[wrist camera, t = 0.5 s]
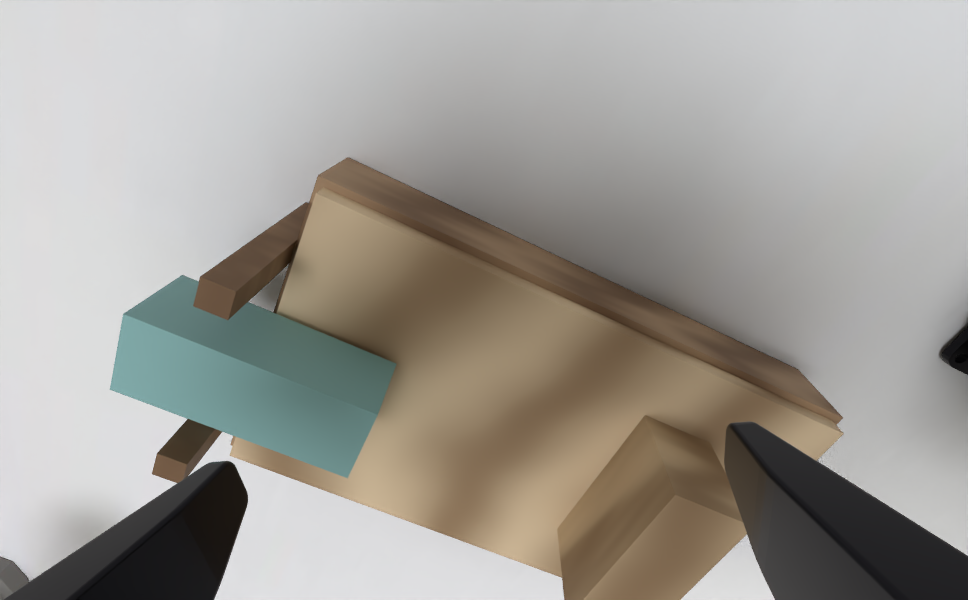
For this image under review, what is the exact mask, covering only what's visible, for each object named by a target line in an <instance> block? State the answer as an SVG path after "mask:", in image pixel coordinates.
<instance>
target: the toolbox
mask: <svg viewBox="0 0 968 600" xmlns="http://www.w3.org/2000/svg"><path fill="white" fill-rule="evenodd" d="M322 188H326V189H328V190H331V191H333V192H335V193H337V194H339V195H342V196H344V197H346V198H348V199H350V200H352V201H355V202H357V203H359V204H361V205H363V206H366V207H368V208H370V209H372V210H374V211H376V212H379V213H381V214H383V215H385V216H387V217H389V218H392V219H394V220H396V221H398V222H400V223H403V224H405V225H407V226H409V227H411V228H413V229H416V230H418V231H420V232H422V233H424V234H427V235H429V236H431V237H433V238H435V239H437V240H440V241H442V242H444V243H446V244H448V245H451V246H453V247H455V248H457V249H459V250H461V251H464V252H466V253H468V254H470V255H472V256H475V257H477V258H479V259H481V260H483V261H485V262H488V263H490V264H492V265H494V266H496V267H498V268H501V269H503V270H505V271H507V272H509V273H512V274H514V275H516V276H518V277H520V278H522V279H525V280H527V281H529V282H531V283H533V284H536V285H538V286H540V287H542V288H544V289H546V290H549V291H551V292H553V293H555V294H557V295H560V296H562V297H564V298H566V299H568V300H570V301H573V302H575V303H577V304H579V305H581V306H583V307H586V308H588V309H590V310H592V311H594V312H597V313H599V314H601V315H603V316H605V317H607V318H610V319H612V320H614V321H616V322H618V323H621V324H623V325H625V326H627V327H629V328H631V329H634V330H636V331H638V332H640V333H642V334H645V335H647V336H649V337H651V338H653V339H655V340H658V341H660V342H662V343H664V344H666V345H668V346H671V347H673V348H675V349H677V350H679V351H682V352H684V353H686V354H688V355H690V356H692V357H695V358H697V359H699V360H701V361H703V362H706V363H708V364H710V365H712V366H714V367H716V368H719V369H721V370H723V371H725V372H727V373H730V374H732V375H734V376H736V377H738V378H740V379H743V380H745V381H747V382H749V383H751V384H754V385H756V386H758V387H760V388H762V389H764V390H767V391H769V392H771V393H773V394H775V395H777V396H780V397H782V398H784V399H786V400H788V401H791V402H793V403H795V404H797V405H799V406H801V407H804V408H806V409H808V410H810V411H812V412H815V413H817V414H819V415H821V416H823V417H825V418H828V419H830V420H832V421H833V422H834V423H835V425H837V424H838V423H839V422H840V420H841V419H842V418H843V417H842V416H841V415H840V414H839V413H838V412H837V411H836V410H835V409H834V407H833V406H832V405H831V404H830V403H829V402H828V401H827V400H826V399H825V398H824V397H823V396H822V395H821V394H820V392H819V391H818V390H817V389H816V388H815V387H814V386H813V385H812V384H811V383H810V382H809V381H808V380H807V379H806V377H805V376H804V375H803V374H802V373H801V372H800V371H799V370H798V369H796V368H794V367H792V366H790V365H787V364H785V363H783V362H781V361H779V360H777V359H775V358H773V357H770V356H768V355H766V354H764V353H762V352H760V351H758V350H756V349H753V348H751V347H749V346H747V345H745V344H743V343H741V342H739V341H736V340H734V339H732V338H730V337H728V336H726V335H724V334H722V333H720V332H717V331H715V330H713V329H711V328H709V327H707V326H705V325H703V324H700V323H698V322H696V321H694V320H692V319H690V318H688V317H686V316H683V315H681V314H679V313H677V312H675V311H673V310H671V309H669V308H666V307H664V306H662V305H660V304H658V303H656V302H654V301H652V300H649V299H647V298H645V297H643V296H641V295H639V294H637V293H635V292H633V291H630V290H628V289H626V288H624V287H622V286H620V285H618V284H616V283H613V282H611V281H609V280H607V279H605V278H603V277H601V276H599V275H596V274H594V273H592V272H590V271H588V270H586V269H584V268H582V267H579V266H577V265H575V264H573V263H571V262H569V261H567V260H565V259H562V258H560V257H558V256H556V255H554V254H552V253H550V252H548V251H546V250H543V249H541V248H539V247H537V246H535V245H533V244H531V243H529V242H526V241H524V240H522V239H520V238H518V237H516V236H514V235H512V234H509V233H507V232H505V231H503V230H501V229H499V228H497V227H495V226H492V225H490V224H488V223H486V222H484V221H482V220H480V219H478V218H476V217H473V216H471V215H469V214H467V213H465V212H463V211H461V210H459V209H456V208H454V207H452V206H450V205H448V204H446V203H444V202H442V201H439V200H437V199H435V198H433V197H431V196H429V195H427V194H425V193H422V192H420V191H418V190H416V189H414V188H412V187H410V186H408V185H405V184H403V183H401V182H399V181H397V180H395V179H393V178H391V177H389V176H386V175H384V174H382V173H380V172H378V171H376V170H374V169H372V168H369V167H367V166H365V165H363V164H361V163H359V162H357V161H355V160H352V159H350V158H346V159H344V160H343V161H341V162H339V163H338V164H336V165H334V166H333V167H331V168H330V169H328V170H326V171H325V172H323V173H321V174H320V175H318V177H317V180H316V183H315V187H314V190H313V193H312V196H311V199H310V202H309V203H304V204H303V205H301V206H300V207H298V208H297V209H296V210H294V211H293V212H291V213H290V214H289V215H287V216H286V217H284V218H283V219H281V220H280V221H279V222H277V223H276V224H274V225H273V226H271V227H270V228H269V229H267V230H266V231H264V232H263V233H262V234H260V235H259V236H257V237H256V238H254V239H253V240H252V241H250V242H249V243H247V244H246V245H245V246H243V247H242V248H240V249H239V250H237V251H236V252H235V253H233V254H232V255H230V256H229V257H227V258H226V259H225V260H223V261H222V262H220V263H219V264H218V265H216V266H215V267H213V268H212V269H210V270H209V271H208V272H206V273H205V274H203V275H202V276H200V280H199V284H198V288H197V292H196V296H195V300H194V304H193V306H194V307H196V308H199V309H201V310H204V311H206V312H208V313H211V314H213V315H216V316H218V317H221V318H223V319H226V320H229V319H230V318H231V317H232V316H233V315H234V314H235V313H236V312H237V311H239V310H240V309H241V308H242V307H243V306H244V305H245V304H246V303H247V302H248V301H249V300H250V299H251V298H253V297H254V296H255V295H256V294H257V293H258V292H259V291H260V290H261V289H262V288H263V287H264V286H265V285H267V284H268V283H269V282H270V281H271V280H272V279H273V278H274V277H275V276H276V275H277V274H278V273H279V272H280V271H282V270H283V269H284V268H285V267H286V266H287V265H288V264H289V266H288V269H287V273H286V276H285V279H284V282H283V285H282V288H281V291H280V294H279V297H278V300H277V303H276V306H275V309H274V312H273V313H275V314H276V313H277V310H278V307H279V304H280V301H281V297H282V294H283V291H284V288H285V285H286V282H287V279H288V276H289V273H290V270H291V267H292V264H293V261H294V258H295V255H296V252H297V249H298V246H299V243H300V240H301V237H302V234H303V231H304V227H305V224H306V221H307V218H308V215H309V212H310V209H311V206H312V203H313V200H314V197H315V194H316V193H317V192H318V191H319V190H321V189H322ZM221 433H222V431H220V430H217V429H214V428H212V427H209V426H206V425H204V424H201V423H198V422H195V421H193V420H190V419H187V421H186V422H185V423H184V424H183V425H182V426H181V427H180V428H179V429H178V431H177V432H176V433H175V434H174V435H173V436H172V437H171V438H170V440H169V441H168V442H167V443H166V444H165V445H164V446H163V447H162V449H161V450H160V451H159V452H158V453H157V456H156V460H155V464H154V468H153V472H152V474H153V475H156V476H159V477H162V478H165V479H167V480H170V481H173V482H176V483H179V482H180V481H182V480H183V479H185V478H186V477H188V475H189V474H190V473H191V471H192V470H193V469H194V468H195V466H196V465H197V464H198V462H199V461H200V460H201V459H202V457H203V456H204V455H205V453H206V452H207V451H208V449H209V448H210V447H211V446H212V444H213V443H214V442H215V440H216V439H217V438H218V436H219V435H220V434H221ZM235 438H236V436H233V438H232V442H231V445H232V446H233V444H234V441H235Z"/></svg>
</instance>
